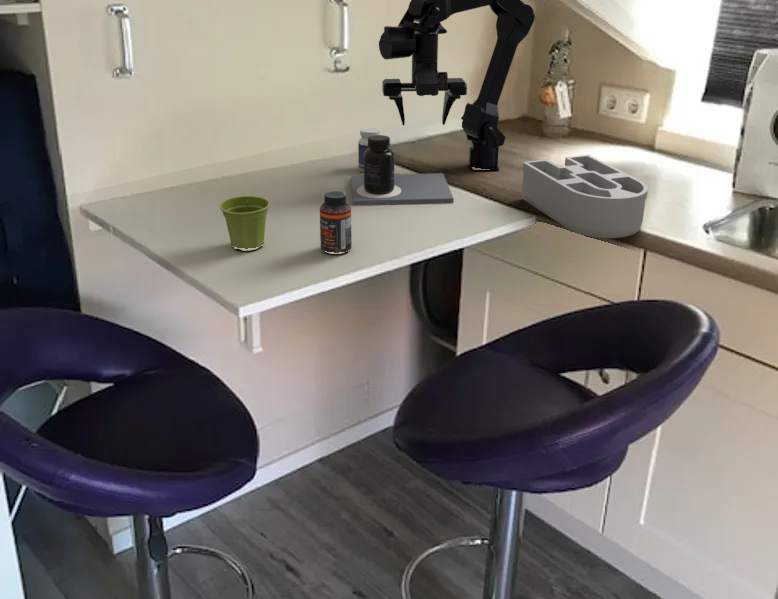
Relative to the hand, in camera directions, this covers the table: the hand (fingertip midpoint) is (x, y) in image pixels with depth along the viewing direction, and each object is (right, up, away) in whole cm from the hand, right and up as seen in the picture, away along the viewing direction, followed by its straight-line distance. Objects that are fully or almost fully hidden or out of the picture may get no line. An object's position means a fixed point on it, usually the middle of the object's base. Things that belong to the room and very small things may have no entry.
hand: (423, 124), depth 198 cm
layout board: (-5, -15, -2) cm, 16 cm away
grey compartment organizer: (+34, -23, -16) cm, 44 cm away
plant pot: (-35, -30, -31) cm, 56 cm away
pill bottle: (-12, -9, +12) cm, 20 cm away
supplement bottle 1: (-18, -31, -33) cm, 49 cm away
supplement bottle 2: (-10, -16, -5) cm, 20 cm away
